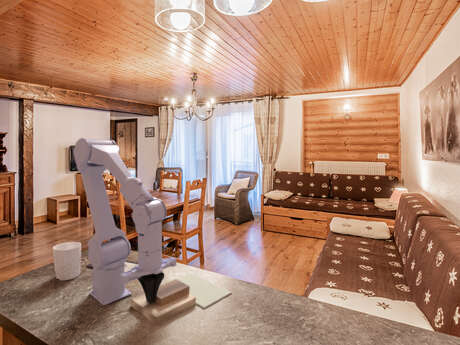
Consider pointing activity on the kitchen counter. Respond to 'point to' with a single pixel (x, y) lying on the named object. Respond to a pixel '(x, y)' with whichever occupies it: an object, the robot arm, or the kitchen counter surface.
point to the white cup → (67, 260)
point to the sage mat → (203, 290)
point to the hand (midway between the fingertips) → (150, 301)
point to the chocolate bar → (128, 265)
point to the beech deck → (164, 312)
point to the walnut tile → (171, 292)
